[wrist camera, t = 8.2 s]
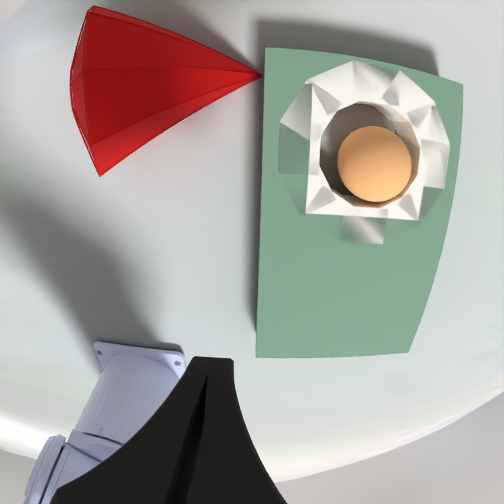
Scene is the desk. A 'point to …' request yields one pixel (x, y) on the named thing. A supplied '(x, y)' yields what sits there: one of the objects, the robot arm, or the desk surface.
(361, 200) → the green flat board
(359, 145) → the ball
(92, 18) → the gemstone
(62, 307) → the desk surface
